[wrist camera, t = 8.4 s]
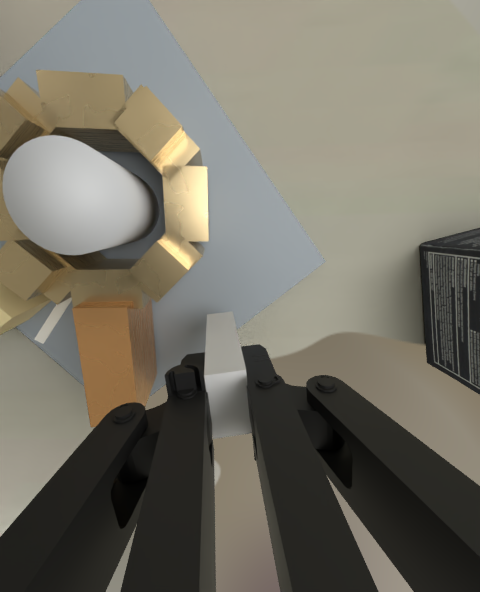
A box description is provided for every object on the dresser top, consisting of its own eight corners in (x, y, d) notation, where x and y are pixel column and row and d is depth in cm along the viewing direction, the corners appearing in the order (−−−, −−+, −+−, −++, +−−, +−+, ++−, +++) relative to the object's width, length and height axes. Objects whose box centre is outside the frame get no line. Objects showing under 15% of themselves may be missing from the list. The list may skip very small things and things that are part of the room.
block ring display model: (-100, 203, 16) (-405, 185, 8) (130, -15, 15) (32, -300, 7) (127, 405, 22) (75, 517, 13) (317, 258, 20) (390, 283, 12)
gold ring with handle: (15, 106, 14) (-97, 40, 9) (206, 115, 15) (204, 60, 10) (63, 377, 18) (5, 437, 13) (211, 370, 19) (211, 424, 14)
